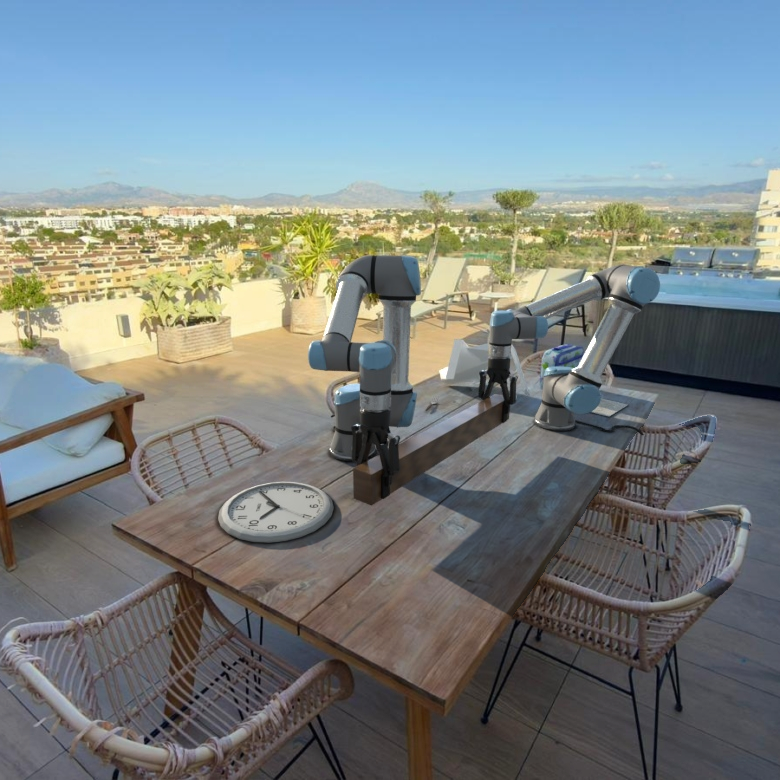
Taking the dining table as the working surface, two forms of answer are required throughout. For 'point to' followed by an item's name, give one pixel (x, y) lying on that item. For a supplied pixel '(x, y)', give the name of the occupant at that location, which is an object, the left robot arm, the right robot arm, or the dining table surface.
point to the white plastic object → (474, 364)
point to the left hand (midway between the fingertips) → (374, 492)
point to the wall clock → (275, 512)
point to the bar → (429, 448)
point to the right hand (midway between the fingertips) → (495, 419)
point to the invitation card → (608, 407)
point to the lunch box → (561, 358)
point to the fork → (432, 403)
